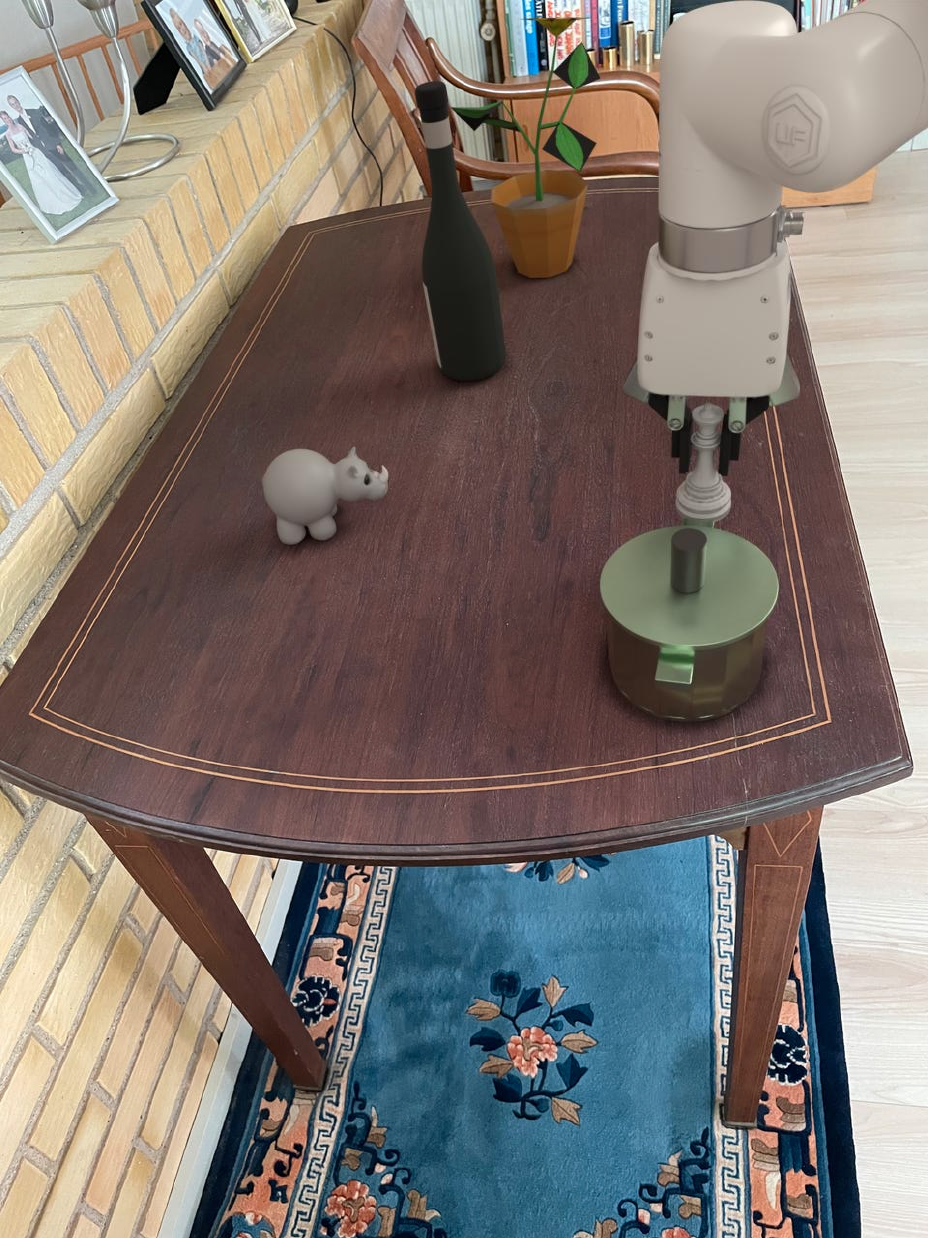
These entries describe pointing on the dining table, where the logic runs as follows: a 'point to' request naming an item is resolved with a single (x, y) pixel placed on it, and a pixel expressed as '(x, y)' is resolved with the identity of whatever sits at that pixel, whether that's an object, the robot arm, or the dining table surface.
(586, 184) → the potted plant
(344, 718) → the dining table surface
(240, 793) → the dining table surface
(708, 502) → the chess piece
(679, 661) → the pot
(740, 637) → the pot lid
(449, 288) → the wine bottle
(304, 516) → the toy rhinoceros
